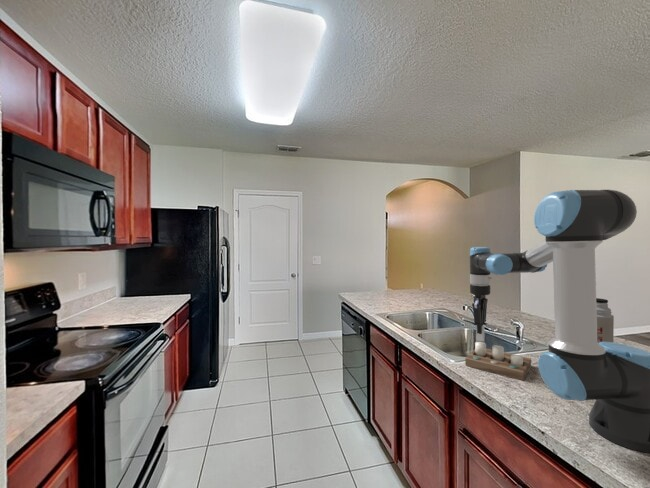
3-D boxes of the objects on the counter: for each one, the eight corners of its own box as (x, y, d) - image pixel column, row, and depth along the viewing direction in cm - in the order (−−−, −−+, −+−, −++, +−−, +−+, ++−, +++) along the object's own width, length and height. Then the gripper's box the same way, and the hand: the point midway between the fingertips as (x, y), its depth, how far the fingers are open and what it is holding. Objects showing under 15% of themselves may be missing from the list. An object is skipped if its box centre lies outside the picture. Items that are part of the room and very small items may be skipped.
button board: (523, 380, 111) (523, 371, 110) (465, 365, 124) (465, 357, 124) (531, 365, 122) (531, 357, 122) (477, 353, 136) (477, 346, 136)
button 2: (502, 362, 120) (502, 349, 120) (491, 359, 123) (491, 347, 123) (504, 359, 123) (504, 346, 123) (493, 356, 126) (493, 344, 126)
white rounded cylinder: (484, 358, 125) (484, 346, 125) (474, 355, 127) (473, 343, 127) (487, 355, 128) (487, 343, 127) (477, 352, 130) (476, 341, 130)
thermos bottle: (605, 379, 110) (605, 302, 109) (579, 370, 117) (580, 298, 116) (618, 375, 112) (618, 300, 111) (592, 366, 120) (593, 296, 119)
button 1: (521, 373, 116) (521, 360, 116) (509, 369, 119) (509, 357, 119) (523, 369, 119) (523, 356, 119) (512, 366, 122) (512, 354, 122)
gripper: (485, 287, 119) (485, 347, 120) (494, 282, 129) (494, 338, 130) (465, 285, 124) (465, 342, 125) (475, 281, 134) (475, 334, 135)
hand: (480, 340), depth 127 cm, fingers closed
